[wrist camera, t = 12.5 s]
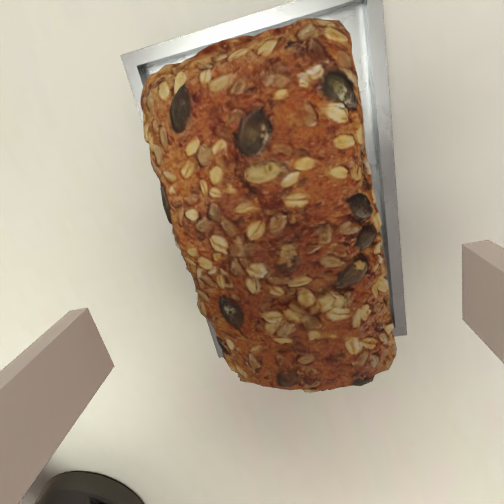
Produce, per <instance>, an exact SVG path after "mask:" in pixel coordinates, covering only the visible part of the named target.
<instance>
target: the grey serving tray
mask: <svg viewBox="0 0 504 504" xmlns="http://www.w3.org/2000/svg"><path fill="white" fill-rule="evenodd" d="M306 17H309V18H318V19H323V20H340V22H341V23H342V24H343V25H344V27H345V28H346V30H347V31H348V32H349V33H350V36H351V41H352V55H353V60H354V65H355V68H356V72H357V75H358V87H359V91H360V97H361V103H362V111H363V118H364V135H365V149H366V154H367V159H368V163H369V166H370V169H371V178H372V186H373V189H374V193H375V196H376V200H377V202H376V206H377V209H378V211H379V215H380V219H381V223H382V224H381V228H380V230H381V236H382V246H381V247H382V248H383V251H384V257H385V262H386V267H387V272H388V273H387V274H386V275H385V276H386V279H387V281H388V286H389V295H390V299H389V307H390V313H391V318H392V322H393V325H394V328H393V330H392V332H393V336H402V335H407V330H406V316H405V303H404V289H403V275H402V262H401V248H400V234H399V220H398V207H397V193H396V179H395V165H394V152H393V138H392V124H391V110H390V97H389V83H388V69H387V56H386V42H385V28H384V14H383V1H382V0H296V1H293V2H290V3H287V4H284V5H280V6H277V7H274V8H271V9H267V10H264V11H261V12H258V13H255V14H251V15H248V16H245V17H242V18H238V19H235V20H232V21H229V22H226V23H222V24H219V25H216V26H213V27H209V28H206V29H203V30H200V31H197V32H193V33H190V34H187V35H184V36H180V37H177V38H174V39H171V40H168V41H164V42H161V43H158V44H155V45H151V46H148V47H145V48H142V49H139V50H135V51H132V52H129V53H126V54H122V55H121V59H122V62H123V65H124V68H125V71H126V74H127V77H128V80H129V83H130V86H131V89H132V92H133V95H134V98H135V102H136V105H137V108H138V111H139V114H140V117H141V120H142V123H143V111H142V108H141V105H140V100H141V93H142V90H143V87H144V84H145V82H146V79H147V78H148V77H149V76H150V75H151V74H153V73H156V72H158V71H159V70H160V69H161V68H162V67H163V66H165V65H168V64H175V63H181V62H182V61H184V60H186V59H188V58H191V57H193V56H195V55H196V54H197V53H198V52H199V51H201V50H202V49H204V48H206V47H208V46H209V45H212V44H215V43H218V42H220V41H222V40H227V39H232V38H237V37H240V36H243V35H248V36H256V35H258V34H260V33H262V32H264V31H267V30H269V29H274V28H279V27H284V26H287V25H290V24H293V23H294V22H296V21H297V20H300V19H303V18H306ZM143 126H144V125H143ZM193 280H194V279H193ZM194 283H195V281H194ZM206 320H207V323H208V326H209V329H210V332H211V335H212V338H213V341H214V344H215V347H216V350H217V353H218V356H219V358H220V357H223V354H222V348H221V347H220V345H219V344H218V341H217V339H216V332H215V330H214V328H213V326H212V325H211V323H210V321H209V320H208V319H207V318H206Z"/></svg>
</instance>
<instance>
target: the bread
mask: <svg viewBox="0 0 504 504" xmlns="http://www.w3.org/2000/svg"><path fill="white" fill-rule="evenodd" d="M140 105H141V108H142V111H143V125H144V138H145V141H146V142H147V143H149V147H150V157H151V164H152V167H153V170H154V172H155V173H156V175H157V177H158V178H159V180H160V183H161V194H162V201H163V206H164V209H165V212H166V215H167V218H168V221H169V223H171V224H172V225H173V234H174V236H175V242H176V246H177V247H178V248H179V249H180V250H181V255H182V256H183V258H184V260H185V262H186V265H187V268H186V269H187V270H188V271H189V272H190V273H191V275H192V277H193V279H194V281H195V287H196V292H197V293H198V302H197V306H198V308H199V310H200V312H201V314H202V315H203V316H204V317H206V318H207V319H208V320H209V321H210V323H211V325H212V326H213V328H214V330H215V332H216V339H217V341H218V344H219V345H220V347H221V348H222V354H223V357H224V359H225V360H226V362H227V363H228V365H229V367H230V368H231V370H232V371H235V372H237V373H238V377H240V381H243V382H250V383H255V384H258V385H261V386H265V387H272V388H279V389H287V390H295V389H303V390H304V392H317V391H320V390H321V391H324V390H327V389H328V390H331V389H335V388H338V387H346V386H351V385H356V386H362V385H364V384H367V383H369V382H371V381H372V380H373V378H374V375H375V374H378V373H380V372H382V371H385V370H389V368H390V366H391V364H392V362H393V360H394V358H395V356H396V350H397V349H396V344H395V339H394V336H393V332H392V330H393V328H394V325H393V322H392V318H391V313H390V307H389V299H390V295H389V286H388V281H387V279H386V276H385V275H386V274H387V273H388V272H387V267H386V262H385V257H384V251H383V248H382V247H381V246H382V236H381V230H380V228H381V224H382V223H381V219H380V215H379V211H378V209H377V206H376V202H377V200H376V196H375V193H374V189H373V186H372V178H371V169H370V166H369V163H368V159H367V154H366V149H365V135H364V118H363V111H362V103H361V97H360V91H359V87H358V75H357V72H356V68H355V65H354V60H353V55H352V41H351V36H350V33H349V32H348V31H347V30H346V28H345V27H344V25H343V24H342V23H341V22H340V20H323V19H318V18H309V17H306V18H303V19H300V20H297V21H296V22H294V23H293V24H290V25H287V26H284V27H279V28H274V29H269V30H267V31H264V32H262V33H260V34H258V35H256V36H248V35H243V36H240V37H237V38H232V39H227V40H222V41H220V42H218V43H215V44H212V45H209V46H208V47H206V48H204V49H202V50H201V51H199V52H198V53H197V54H196V55H195V56H193V57H191V58H188V59H186V60H184V61H182V62H181V63H175V64H168V65H165V66H163V67H162V68H161V69H160V70H159V71H158V72H156V73H153V74H151V75H150V76H149V77H148V78H147V79H146V82H145V84H144V87H143V90H142V93H141V100H140Z"/></svg>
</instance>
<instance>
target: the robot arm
mask: <svg viewBox="0 0 504 504" xmlns="http://www.w3.org/2000/svg"><path fill="white" fill-rule="evenodd" d="M462 314H463V320H464V321H465V322H466V323H467V324H468V326H469V327H470V328H471V329H472V330H473V331H474V332H475V333H476V334H477V335H478V336H479V337H480V339H481V340H482V341H483V342H484V343H485V344H486V345H487V346H488V347H489V348H490V349H491V350H492V351H493V353H494V354H495V355H496V356H497V357H498V358H499V359H500V360H501V361H502V362H503V363H504V248H502V247H501V246H499V245H497V244H495V243H493V242H492V241H490V240H485V241H479V242H473V243H467V244H462ZM113 367H114V364H113V362H112V360H111V358H110V355H109V353H108V351H107V349H106V347H105V344H104V342H103V340H102V338H101V336H100V334H99V331H98V329H97V327H96V325H95V323H94V321H93V318H92V316H91V314H90V312H89V310H88V308H84V309H78V310H72V311H69V312H68V313H67V314H66V315H64V316H63V317H62V318H61V319H60V320H59V321H58V322H56V323H55V324H54V325H53V326H52V327H51V328H50V329H48V330H47V331H46V332H45V333H44V334H43V335H42V336H40V337H39V338H38V339H37V340H36V341H35V342H34V343H32V344H31V345H30V346H29V347H28V348H27V349H26V350H24V351H23V352H22V353H21V354H20V355H19V356H18V357H16V358H15V359H14V360H13V361H12V362H11V363H10V364H8V365H7V366H6V367H5V368H4V369H3V370H2V371H0V504H19V502H20V501H21V500H22V498H23V497H24V495H25V494H26V492H27V491H28V489H29V488H30V487H31V485H32V484H33V482H34V481H35V479H36V478H37V477H38V475H39V474H40V472H41V471H42V469H43V468H44V466H45V465H46V464H47V462H48V461H49V459H50V458H51V456H52V455H53V454H54V452H55V451H56V449H57V448H58V446H59V445H60V444H61V442H62V441H63V439H64V438H65V436H66V435H67V433H68V432H69V431H70V429H71V428H72V426H73V425H74V423H75V422H76V421H77V419H78V418H79V416H80V415H81V413H82V412H83V411H84V409H85V408H86V406H87V405H88V403H89V402H90V400H91V399H92V398H93V396H94V395H95V393H96V392H97V390H98V389H99V388H100V386H101V385H102V383H103V382H104V380H105V379H106V377H107V376H108V375H109V373H110V372H111V370H112V369H113ZM35 504H143V503H142V502H141V500H140V499H139V498H138V497H137V496H136V495H135V494H134V493H133V492H132V491H131V490H129V489H128V488H126V487H125V486H123V485H122V484H120V483H118V482H116V481H114V480H112V479H109V478H107V477H104V476H101V475H97V474H92V473H86V472H70V473H64V474H61V475H58V476H56V477H54V478H53V479H51V480H50V481H49V482H48V483H47V485H46V486H45V488H44V489H43V491H42V493H41V494H40V496H39V497H38V499H37V501H36V502H35Z"/></svg>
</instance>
